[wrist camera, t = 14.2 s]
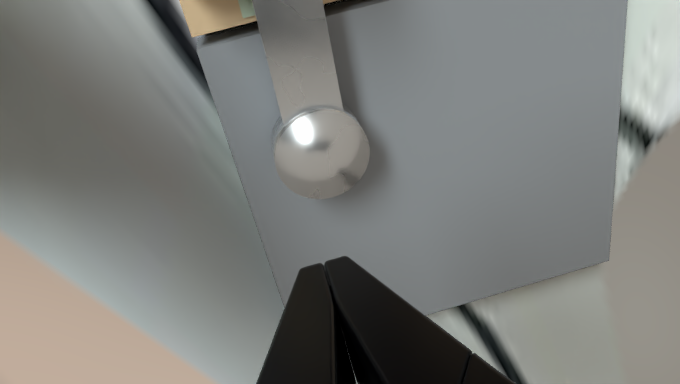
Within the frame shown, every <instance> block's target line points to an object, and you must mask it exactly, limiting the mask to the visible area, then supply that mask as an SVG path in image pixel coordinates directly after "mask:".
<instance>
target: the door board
mask: <svg viewBox="0 0 680 384" xmlns="http://www.w3.org/2000/svg"><path fill="white" fill-rule="evenodd" d="M179 1H180V4H181V7H182V10H183V13H184V15H185V18H186V21H187V24H188V27H189V30H190V33H191V36H192V37H195V36H199V35H203V34H207V33H211V32H215V31H219V30H223V29H227V28H231V27H235V26H239V25H243V24H247V23H251V22H255V21H257V20H256V16H255V12H254V8H253V4H252V0H179ZM334 1H338V0H323V4H326V3H330V2H334ZM627 1H628V0H347V1H343V2H339V3H335V4H332V5H328V6H324V11H325V16H326V21H327V27H328V32H329V37H330V43H331V48H332V53H333V58H334V64H335V69H336V74H337V79H338V85H339V90H340V95H341V100H342V104H343V105H345V106H346V107H347V108H348V109H349V110H350V111H351V112H352V113H353V114H354V116H355V118H356V119H357V121H358V122H359V124H360V126H361V127H362V129H363V131H364V132H365V134H366V136H367V139H368V142H369V147H370V157H369V162H368V165H367V168H366V170H365V172H364V174H363V176H362V177H361V179H360V180H359V181H358V182H357V183H356V184H355V185H354V186H353V187H352V188H350V189H349V190H348V191H346V192H344V193H342V194H340V195H338V196H335V197H332V198H327V199H311V198H306V197H303V196H300V195H298V194H296V193H294V192H293V191H291V190H290V189H289V188H288V187H287V186H286V185H285V184H284V183H283V182H282V180H281V179H280V177H279V175H278V173H277V170H276V166H275V161H274V157H273V152H272V147H271V136H272V131H273V128H274V125H275V123H276V121H277V120H278V118H279V117H280V115H281V114H280V110H279V106H278V102H277V98H276V94H275V90H274V86H273V83H272V79H271V75H270V71H269V67H268V63H267V59H266V55H265V51H264V47H263V43H262V39H261V35H260V31H259V28H258V24H253V25H249V26H245V27H241V28H237V29H233V30H229V31H225V32H221V33H217V34H213V35H209V36H205V37H201V38H198V41H197V48H196V51H197V53H198V56H199V59H200V62H201V65H202V68H203V71H204V74H205V77H206V80H207V83H208V86H209V89H210V91H211V94H212V97H213V100H214V103H215V106H216V109H217V112H218V115H219V118H220V121H221V124H222V127H223V129H224V132H225V135H226V138H227V141H228V144H229V147H230V150H231V153H232V156H233V159H234V162H235V165H236V167H237V170H238V173H239V176H240V179H241V182H242V185H243V188H244V191H245V194H246V197H247V200H248V203H249V205H250V208H251V211H252V214H253V217H254V220H255V223H256V226H257V229H258V232H259V235H260V238H261V241H262V243H263V246H264V249H265V252H266V255H267V258H268V261H269V264H270V267H271V270H272V273H273V276H274V279H275V281H276V284H277V287H278V290H279V293H280V296H281V299H282V302H283V305H284V308H285V306H286V303H287V301H288V298H289V295H290V293H291V290H292V287H293V285H294V282H295V279H296V277H297V274H298V272H299V270H300V269H301V268H303V267H306V266H310V265H313V264H317V263H322V264H323V265H324V263H325V262H326V261H327V260H330V259H334V258H337V257H341V256H348V257H349V258H351V259H352V260H353V261H354V262H356V263H357V264H358V265H360V266H361V267H362V268H364V269H365V270H366V271H368V272H369V273H370V274H372V275H373V276H374V277H375V278H377V279H378V280H379V281H381V282H382V283H383V284H385V285H386V286H387V287H389V288H390V289H391V290H392V291H394V292H395V293H396V294H398V295H399V296H400V297H402V298H403V299H404V300H406V301H407V302H408V303H409V304H411V305H412V306H413V307H415V308H416V309H417V310H419V311H420V312H421V313H423V314H424V315H429V314H432V313H436V312H439V311H442V310H446V309H449V308H452V307H456V306H459V305H462V304H466V303H469V302H472V301H476V300H479V299H482V298H486V297H489V296H492V295H496V294H499V293H502V292H506V291H509V290H512V289H516V288H519V287H522V286H526V285H529V284H532V283H536V282H539V281H542V280H546V279H549V278H552V277H556V276H559V275H562V274H566V273H569V272H572V271H576V270H579V269H582V268H586V267H589V266H592V265H596V264H599V263H602V262H606V261H609V252H610V239H611V226H612V212H613V198H614V184H615V170H616V156H617V142H618V128H619V114H620V99H621V85H622V71H623V57H624V43H625V29H626V15H627ZM324 268H325V267H324ZM326 275H327V274H326ZM328 282H329V281H328Z"/></svg>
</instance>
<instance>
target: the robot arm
mask: <svg viewBox="0 0 680 384" xmlns="http://www.w3.org/2000/svg"><path fill="white" fill-rule="evenodd" d="M324 267H325V268H324ZM326 274H327V275H326ZM328 281H329V282H328ZM345 342H346V343H345ZM347 349H348V350H347ZM348 353H349V354H348ZM349 356H350V357H349ZM350 360H351V361H350ZM351 364H352V365H351ZM352 367H353V368H352ZM353 371H354V372H353ZM354 374H355V376H354ZM355 377H356V380H357V384H516V383H514V382H513V381H512V380H510V379H509V378H507V377H506V376H505V375H503V374H502V373H500V372H499V371H498V370H496V369H495V368H493V367H492V366H491V365H490V364H488V363H487V362H486V361H484V360H483V359H482V358H480V357H479V356H478V355H477V354H475V353H473V354H472V351H471V350H470V349H468V348H467V347H466V346H464V345H463V344H462V343H461V342H459V341H458V340H457V339H455V338H454V337H453V336H451V335H450V334H449V333H447V332H446V331H445V330H444V329H442V328H441V327H440V326H438V325H437V324H436V323H434V322H433V321H432V320H430V319H429V318H428V317H426V316H425V315H424V314H423V313H421V312H420V311H419V310H417V309H416V308H415V307H413V306H412V305H411V304H409V303H408V302H407V301H406V300H404V299H403V298H402V297H400V296H399V295H398V294H396V293H395V292H394V291H392V290H391V289H390V288H389V287H387V286H386V285H385V284H383V283H382V282H381V281H379V280H378V279H377V278H375V277H374V276H373V275H372V274H370V273H369V272H368V271H366V270H365V269H364V268H362V267H361V266H360V265H358V264H357V263H356V262H354V261H353V260H352V259H351V258H349V257H348V256H341V257H337V258H334V259H330V260H327V261H326V262H325V263H324V265H323V264H322V263H317V264H313V265H310V266H306V267H303V268H301V269H300V270H299V272H298V274H297V277H296V279H295V282H294V285H293V287H292V290H291V293H290V295H289V298H288V301H287V303H286V306H285V309H284V311H283V314H282V316H281V319H280V322H279V324H278V327H277V330H276V332H275V335H274V338H273V340H272V343H271V346H270V348H269V351H268V354H267V356H266V359H265V362H264V364H263V367H262V370H261V372H260V375H259V378H258V380H257V383H256V384H356V380H355Z"/></svg>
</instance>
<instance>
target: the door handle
mask: <svg viewBox="0 0 680 384" xmlns="http://www.w3.org/2000/svg"><path fill="white" fill-rule="evenodd" d="M252 4H253V8H254V12H255V16H256V20H257V24H258V28H259V31H260V35H261V39H262V43H263V47H264V51H265V55H266V59H267V63H268V67H269V71H270V75H271V79H272V83H273V86H274V90H275V94H276V98H277V102H278V106H279V110H280V114H281V115H280V117H279V118H278V120H277V121H276V123H275V125H274V128H273V131H272V136H271V147H272V152H273V157H274V161H275V166H276V170H277V173H278V175H279V177H280V179H281V180H282V182H283V183H284V184H285V185H286V186H287V187H288V188H289V189H290V190H291V191H293V192H294V193H296V194H298V195H300V196H303V197H306V198H311V199H327V198H332V197H335V196H338V195H340V194H342V193H344V192H346V191H348V190H349V189H350V188H352V187H353V186H354V185H355V184H356V183H357V182H358V181H359V180H360V179H361V177H362V176H363V174H364V172H365V170H366V168H367V165H368V162H369V157H370V147H369V142H368V139H367V136H366V134H365V132H364V131H363V129H362V127H361V126H360V124H359V122H358V121H357V119H356V118H355V116H354V114H353V113H352V112H351V111H350V110H349V109H348V108H347V107H346V106H345V105H343V104H342V100H341V95H340V90H339V85H338V79H337V74H336V69H335V64H334V58H333V53H332V48H331V43H330V37H329V32H328V27H327V21H326V16H325V11H324V6H323V0H252Z"/></svg>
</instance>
